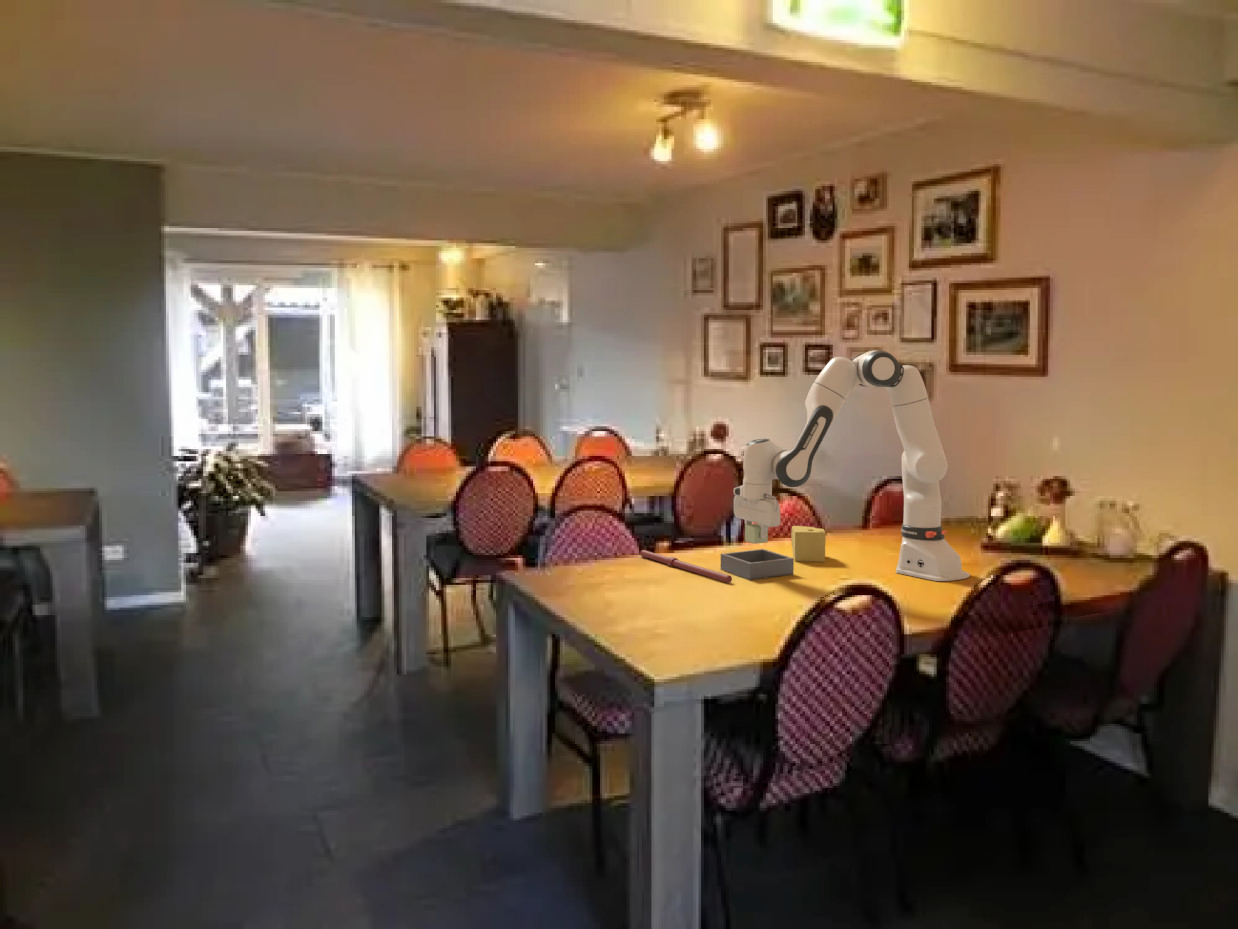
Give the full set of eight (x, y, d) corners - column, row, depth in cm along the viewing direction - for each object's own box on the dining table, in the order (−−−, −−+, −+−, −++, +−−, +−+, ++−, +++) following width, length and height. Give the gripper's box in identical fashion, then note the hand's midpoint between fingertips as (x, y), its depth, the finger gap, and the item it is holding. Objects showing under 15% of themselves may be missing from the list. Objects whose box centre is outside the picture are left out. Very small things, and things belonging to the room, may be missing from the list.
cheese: (822, 555, 333) (823, 526, 332) (826, 562, 323) (826, 532, 321) (790, 555, 334) (791, 525, 333) (793, 562, 324) (793, 531, 322)
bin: (793, 574, 306) (793, 558, 306) (749, 580, 299) (750, 563, 298) (762, 564, 320) (763, 548, 320) (720, 569, 313) (720, 553, 312)
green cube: (767, 542, 307) (767, 526, 307) (754, 543, 305) (754, 527, 305) (758, 539, 312) (758, 523, 311) (744, 540, 310) (745, 525, 309)
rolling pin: (638, 558, 332) (638, 549, 331) (646, 557, 333) (646, 548, 333) (725, 585, 294) (725, 575, 294) (733, 584, 296) (733, 573, 296)
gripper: (786, 495, 299) (785, 541, 301) (747, 487, 317) (746, 530, 319) (768, 497, 296) (767, 543, 298) (730, 488, 314) (729, 531, 316)
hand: (756, 536), depth 308 cm, fingers closed on green cube, 5 cm apart
